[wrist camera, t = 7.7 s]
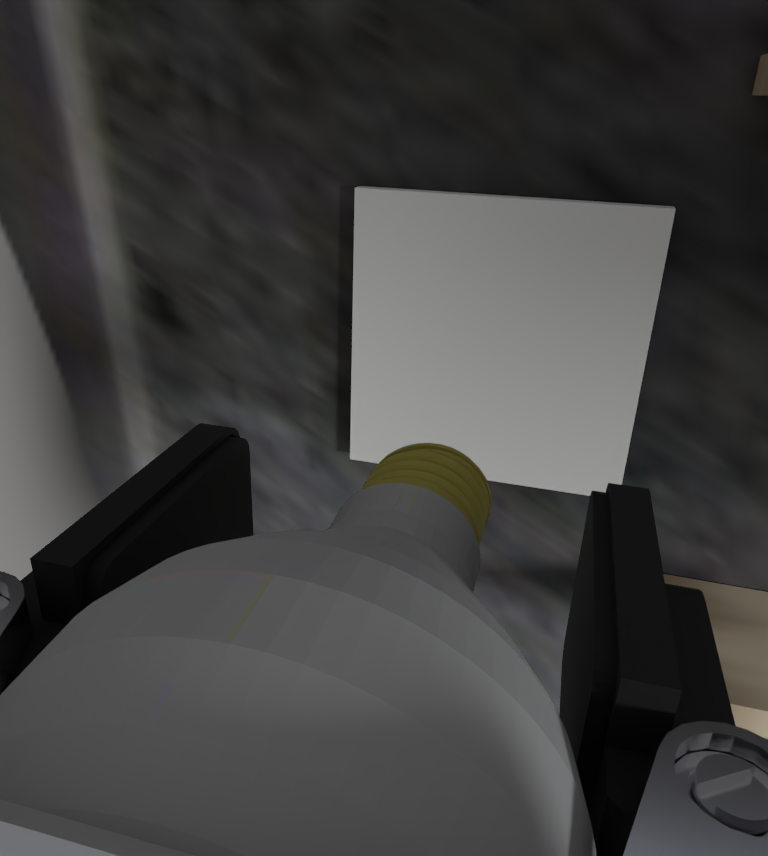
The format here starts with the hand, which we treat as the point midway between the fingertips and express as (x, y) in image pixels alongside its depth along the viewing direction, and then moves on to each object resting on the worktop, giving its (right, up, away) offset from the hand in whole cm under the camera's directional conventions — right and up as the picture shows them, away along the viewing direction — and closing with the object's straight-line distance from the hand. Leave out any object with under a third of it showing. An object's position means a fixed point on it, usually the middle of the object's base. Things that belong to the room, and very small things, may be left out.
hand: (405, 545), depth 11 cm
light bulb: (+1, +1, +2) cm, 2 cm away
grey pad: (+3, +4, +9) cm, 10 cm away
